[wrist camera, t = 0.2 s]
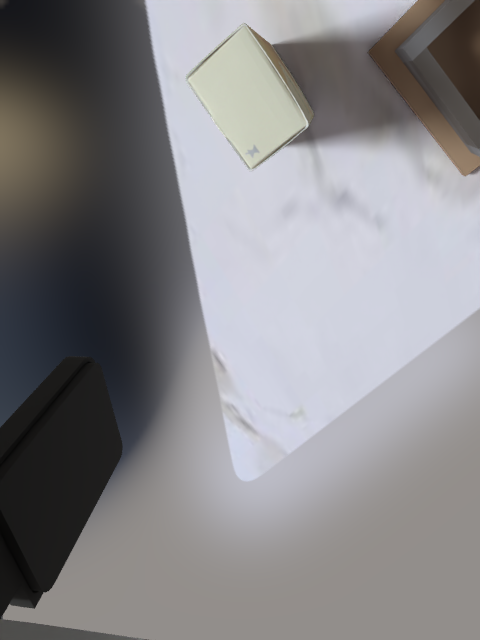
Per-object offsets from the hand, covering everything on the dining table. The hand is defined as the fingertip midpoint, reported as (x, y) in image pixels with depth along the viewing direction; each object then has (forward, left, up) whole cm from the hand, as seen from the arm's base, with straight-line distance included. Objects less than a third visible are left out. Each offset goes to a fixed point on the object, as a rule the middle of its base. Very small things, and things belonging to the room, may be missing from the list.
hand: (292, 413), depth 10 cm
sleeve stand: (-14, +3, -30) cm, 33 cm away
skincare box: (-2, -6, -30) cm, 31 cm away
